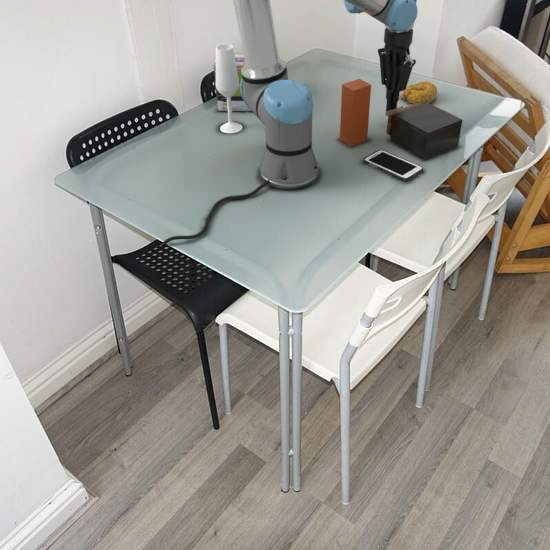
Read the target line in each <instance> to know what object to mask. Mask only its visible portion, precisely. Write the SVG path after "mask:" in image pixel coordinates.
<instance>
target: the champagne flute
mask: <svg viewBox="0 0 550 550" xmlns="http://www.w3.org/2000/svg"><path fill="white" fill-rule="evenodd" d="M234 49H235V48H234V46H233V44H231V43H222V44H221V43H220V44H218V45H216V46H215V62H216V85H215V90H216V89H217V90H218V92H219V93H220V94H222V95H223V96H224V97H227V108H228V111H227V117H228V119H227V120H228V122H226V123H224V124H222V125H221V126H220V127H219V130H220V131H221V132H222V133H225V134H236V133H239V132H241V131H242V130H243V125H241V124H240V123H238V122H235V121H234V120H233V111H232V107H231V97H232V96H233V95H234V94H235V93H236V92H237V90H238V89H239V79H238V73H237V67H236V61H235V55H234V54H235V51H234Z"/></svg>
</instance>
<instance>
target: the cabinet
mask: <svg viewBox="0 0 550 550" xmlns="http://www.w3.org/2000/svg"><path fill="white" fill-rule="evenodd" d="M462 126H463V119H462V118H460V117H458V116H456V115H454V114H452V113H450V112H448V111H446V110H444V109H442V108H440V107H438V106H436V105H433V104H431V102H430V103H428V102H426V103H423V104H420V105H417V106H415V107H412V108H409V109H406V110H403V111H401V112H398V113H395V114H393V120H392V130H391V135H390V142H391V143H394V144H395V145H397V146H399V147H401V148H402V149H404V150H405V151H407V152H409V153H411V154H412V155H415V156H416V157H418V158H419V159H421V160H423V161H427V160H428V159H431V158H434V157H436V156H438V155H441V154H443V153H446V152H448V151H451V150H453V149H456V148H458V147H459V142H460V137H461V133H462Z"/></svg>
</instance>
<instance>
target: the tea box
mask: <svg viewBox="0 0 550 550" xmlns="http://www.w3.org/2000/svg"><path fill="white" fill-rule="evenodd" d="M234 55H235V61H236V67H237V73H238V79H239V89H238V90H237V92H236V93H235V94H234V95H233V96H232V97H231V107H232V112H253V111H252V110H251V109H249V108H248V107H247V105H246V104H245V102H244V100H243V98H242V95H241V91H240V83H241V79H242V75H241V69H242V67H243V66H244V64H245V59H244V54H243V53H234ZM213 75H214V83H215V86H216V61H215V62H214V64H213ZM215 92H216V102H217V110H218V111H219V112H228V108H227V97H224V96H223V95H222V94H220V93H219V92H218V90H217V89H216V88H215Z"/></svg>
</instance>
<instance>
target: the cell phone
mask: <svg viewBox="0 0 550 550" xmlns="http://www.w3.org/2000/svg"><path fill="white" fill-rule="evenodd" d="M362 162H363V163H364V164H366V165H369V166H371V167H373V168H375V169H377V170H379V171H382V172H384V173H386V174H388V175H390V176H392V177H395V178H397V179H399V180H401V181H403V182H407V181H409V180H411V179H413V178H414V177H415V176H418V175H419V174H421V173H423V171H424V167H423V166H421V165H419V164H417V163H414V162H412V161H410V160H407V159H405V158H402V157H400V156H398V155H396V154H393V153H391V152H389V151H386V150H384V149H378V150H376V151H374V152H372V153H371V154H369V155H367V156H365V157H364V158H363V160H362Z"/></svg>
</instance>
